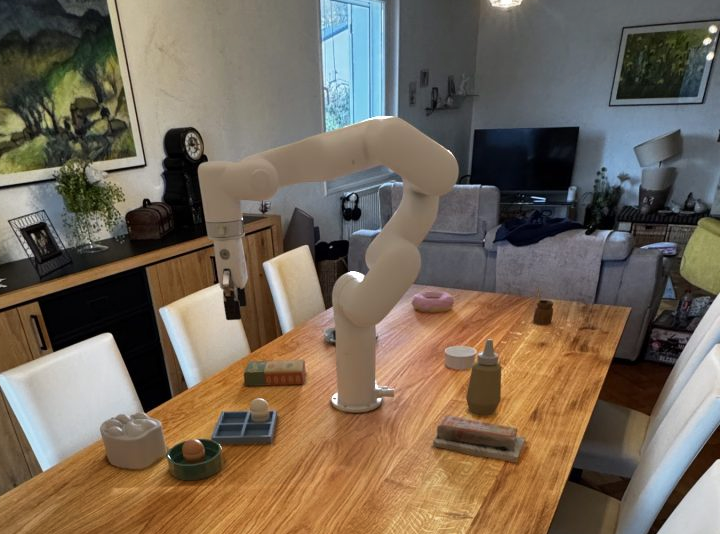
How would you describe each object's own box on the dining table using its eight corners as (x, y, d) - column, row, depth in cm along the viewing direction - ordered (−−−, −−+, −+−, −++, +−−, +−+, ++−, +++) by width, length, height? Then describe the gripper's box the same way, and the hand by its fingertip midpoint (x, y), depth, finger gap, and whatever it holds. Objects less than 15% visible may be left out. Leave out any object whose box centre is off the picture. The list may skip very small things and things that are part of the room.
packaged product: (432, 427, 121) (446, 408, 129) (431, 447, 124) (444, 427, 131) (519, 443, 114) (528, 422, 122) (516, 464, 117) (525, 442, 124)
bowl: (227, 454, 124) (225, 438, 122) (218, 481, 114) (215, 464, 112) (177, 455, 124) (174, 439, 122) (164, 483, 115) (160, 466, 113)
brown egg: (208, 460, 121) (204, 434, 118) (204, 471, 117) (200, 445, 114) (188, 461, 121) (183, 435, 118) (183, 472, 117) (178, 445, 114)
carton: (303, 385, 154) (302, 370, 152) (244, 386, 155) (242, 371, 153) (305, 373, 162) (304, 358, 159) (249, 374, 162) (247, 360, 160)
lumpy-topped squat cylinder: (139, 473, 118) (130, 436, 114) (95, 459, 124) (84, 424, 119) (173, 450, 126) (166, 415, 121) (130, 438, 131) (121, 404, 127)
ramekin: (440, 369, 161) (441, 354, 159) (447, 358, 168) (448, 343, 166) (472, 372, 158) (473, 357, 156) (477, 361, 165) (479, 347, 163)
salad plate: (315, 330, 193) (314, 317, 191) (366, 325, 196) (366, 312, 194) (327, 350, 177) (326, 335, 175) (382, 344, 180) (382, 329, 178)
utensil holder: (553, 325, 191) (559, 288, 184) (534, 325, 191) (540, 289, 184) (548, 319, 196) (554, 284, 189) (529, 320, 196) (534, 284, 190)
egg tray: (277, 417, 138) (276, 410, 137) (271, 444, 127) (270, 436, 126) (222, 418, 139) (221, 411, 138) (212, 445, 127) (210, 438, 126)
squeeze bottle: (502, 407, 139) (511, 335, 130) (495, 421, 133) (504, 347, 124) (469, 402, 142) (476, 332, 133) (460, 415, 136) (467, 343, 127)
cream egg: (271, 418, 137) (268, 394, 134) (269, 427, 133) (266, 402, 130) (253, 419, 137) (250, 395, 134) (250, 427, 133) (247, 403, 130)
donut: (410, 314, 206) (410, 300, 203) (412, 302, 219) (412, 289, 216) (454, 315, 203) (455, 301, 201) (453, 303, 216) (454, 289, 214)
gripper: (238, 236, 109) (249, 324, 118) (248, 221, 124) (258, 300, 133) (199, 238, 109) (213, 326, 118) (214, 223, 124) (225, 302, 133)
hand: (237, 312), depth 125 cm, fingers open, 9 cm apart
